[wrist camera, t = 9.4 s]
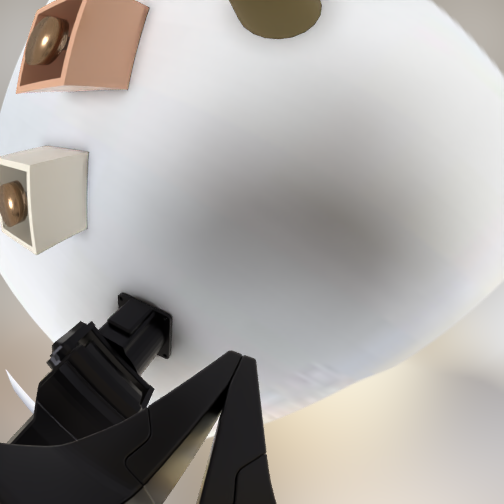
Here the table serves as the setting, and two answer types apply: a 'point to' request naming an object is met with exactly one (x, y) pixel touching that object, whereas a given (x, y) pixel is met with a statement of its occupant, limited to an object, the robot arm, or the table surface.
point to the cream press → (48, 195)
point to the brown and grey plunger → (47, 41)
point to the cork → (277, 16)
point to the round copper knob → (13, 203)
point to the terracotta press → (88, 47)
